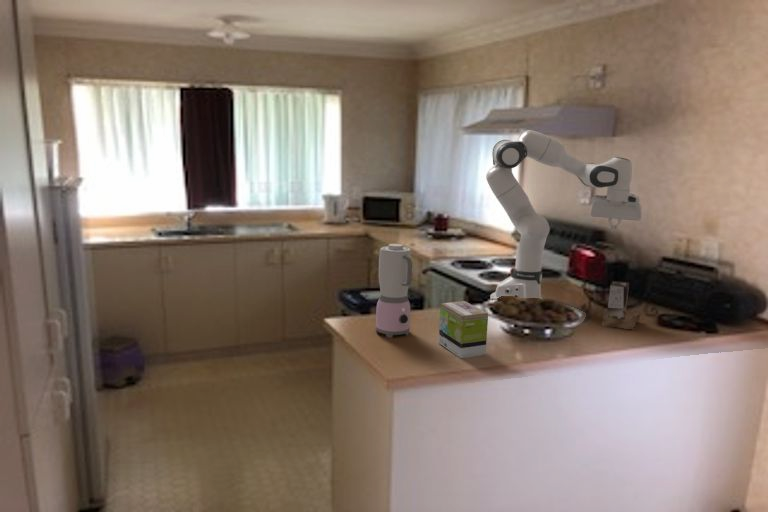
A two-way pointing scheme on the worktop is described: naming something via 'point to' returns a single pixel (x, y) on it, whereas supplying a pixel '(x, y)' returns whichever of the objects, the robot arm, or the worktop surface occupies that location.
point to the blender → (394, 290)
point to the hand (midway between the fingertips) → (613, 229)
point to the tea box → (463, 329)
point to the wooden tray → (620, 321)
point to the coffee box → (618, 300)
